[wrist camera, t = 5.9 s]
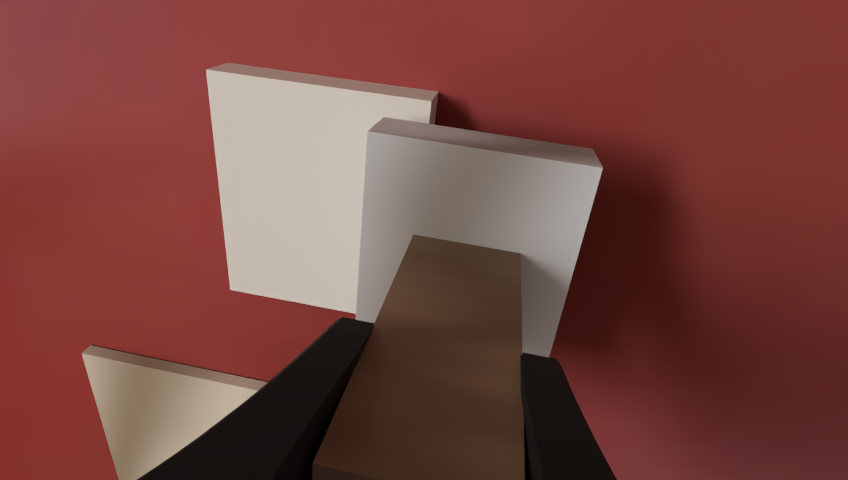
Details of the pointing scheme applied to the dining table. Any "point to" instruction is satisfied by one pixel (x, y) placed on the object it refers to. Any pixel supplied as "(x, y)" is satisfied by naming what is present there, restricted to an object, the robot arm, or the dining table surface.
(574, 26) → the dining table surface
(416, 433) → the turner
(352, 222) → the tile
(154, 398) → the board
